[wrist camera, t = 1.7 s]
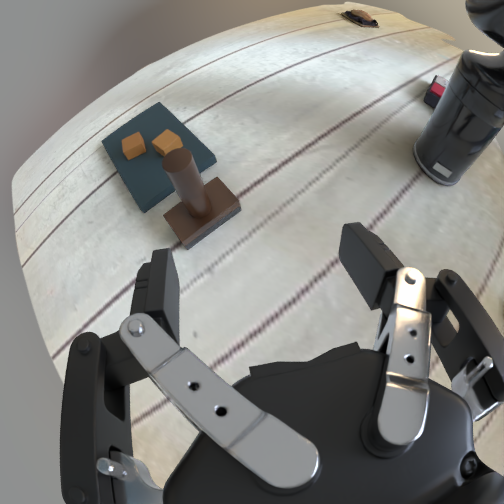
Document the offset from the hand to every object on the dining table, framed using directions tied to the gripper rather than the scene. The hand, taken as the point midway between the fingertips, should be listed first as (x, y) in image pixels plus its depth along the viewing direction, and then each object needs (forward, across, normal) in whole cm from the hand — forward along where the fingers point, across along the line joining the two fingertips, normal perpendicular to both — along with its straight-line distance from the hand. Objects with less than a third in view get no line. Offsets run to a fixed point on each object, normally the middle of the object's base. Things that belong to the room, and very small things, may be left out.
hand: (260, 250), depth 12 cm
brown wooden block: (+29, +7, +2) cm, 30 cm away
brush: (+20, +3, +9) cm, 22 cm away
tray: (+32, +10, +3) cm, 33 cm away
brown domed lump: (+67, -46, -29) cm, 86 cm away
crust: (+31, +12, +2) cm, 33 cm away
